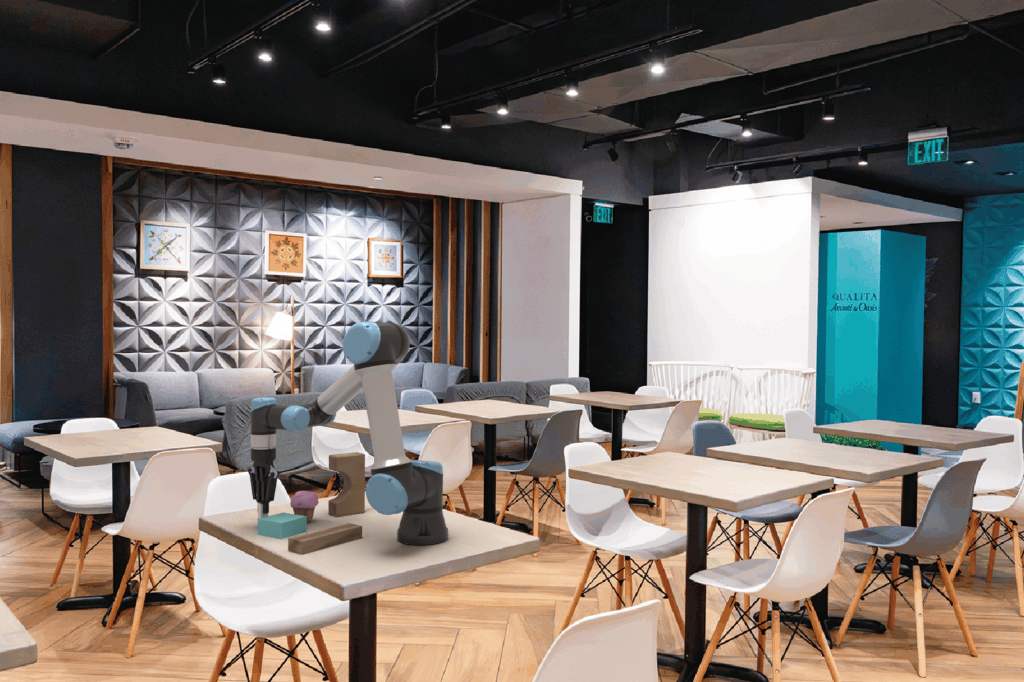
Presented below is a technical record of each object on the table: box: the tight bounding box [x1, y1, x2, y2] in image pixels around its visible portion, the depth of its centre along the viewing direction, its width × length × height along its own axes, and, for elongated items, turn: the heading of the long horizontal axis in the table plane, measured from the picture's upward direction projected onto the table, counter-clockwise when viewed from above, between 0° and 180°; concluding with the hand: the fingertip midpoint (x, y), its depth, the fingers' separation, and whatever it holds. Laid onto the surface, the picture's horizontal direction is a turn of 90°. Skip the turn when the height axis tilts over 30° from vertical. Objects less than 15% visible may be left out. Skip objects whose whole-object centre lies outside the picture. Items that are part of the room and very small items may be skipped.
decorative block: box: [327, 451, 366, 518], centre depth 255 cm, size 11×6×20 cm, turn 128°
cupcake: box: [289, 490, 320, 524], centre depth 243 cm, size 9×9×10 cm
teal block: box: [257, 512, 308, 540], centre depth 229 cm, size 10×10×5 cm
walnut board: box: [287, 522, 363, 555], centre depth 217 cm, size 6×22×4 cm, turn 144°
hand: (263, 523), depth 235 cm, fingers closed
